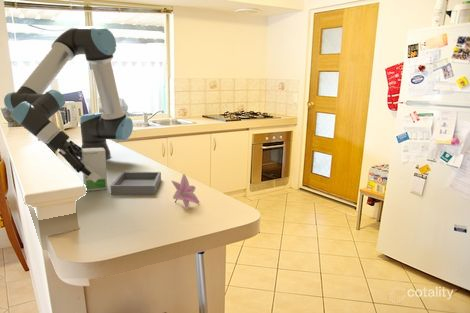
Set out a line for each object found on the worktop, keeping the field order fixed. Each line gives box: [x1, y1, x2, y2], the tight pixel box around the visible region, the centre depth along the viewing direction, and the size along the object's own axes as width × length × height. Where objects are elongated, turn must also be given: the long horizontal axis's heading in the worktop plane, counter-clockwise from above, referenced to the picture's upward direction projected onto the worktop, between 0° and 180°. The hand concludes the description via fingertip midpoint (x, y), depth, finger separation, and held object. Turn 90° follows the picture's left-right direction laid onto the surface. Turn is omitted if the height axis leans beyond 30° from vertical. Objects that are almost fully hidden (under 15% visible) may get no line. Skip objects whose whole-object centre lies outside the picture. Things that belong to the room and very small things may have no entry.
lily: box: [171, 173, 201, 210], centre depth 119 cm, size 12×12×10 cm
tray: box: [110, 171, 162, 196], centre depth 135 cm, size 18×16×4 cm
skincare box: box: [81, 148, 108, 192], centre depth 132 cm, size 8×7×16 cm
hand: (100, 174), depth 133 cm, fingers open, 13 cm apart
